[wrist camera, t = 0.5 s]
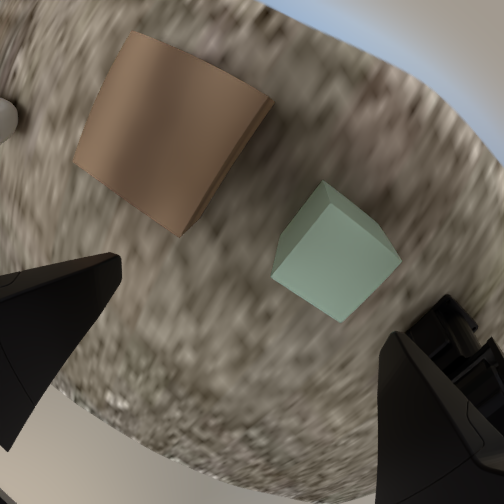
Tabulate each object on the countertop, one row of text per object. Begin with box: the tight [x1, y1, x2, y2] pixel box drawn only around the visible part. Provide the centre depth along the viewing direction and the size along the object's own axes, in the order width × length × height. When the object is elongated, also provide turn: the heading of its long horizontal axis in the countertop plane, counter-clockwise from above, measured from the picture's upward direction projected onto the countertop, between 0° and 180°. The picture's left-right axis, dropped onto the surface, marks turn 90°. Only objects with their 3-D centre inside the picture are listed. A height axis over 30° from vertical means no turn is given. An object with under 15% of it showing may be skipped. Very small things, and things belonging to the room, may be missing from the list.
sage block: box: [271, 180, 402, 323], centre depth 17 cm, size 5×5×6 cm
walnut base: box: [73, 31, 275, 238], centre depth 17 cm, size 10×10×4 cm
